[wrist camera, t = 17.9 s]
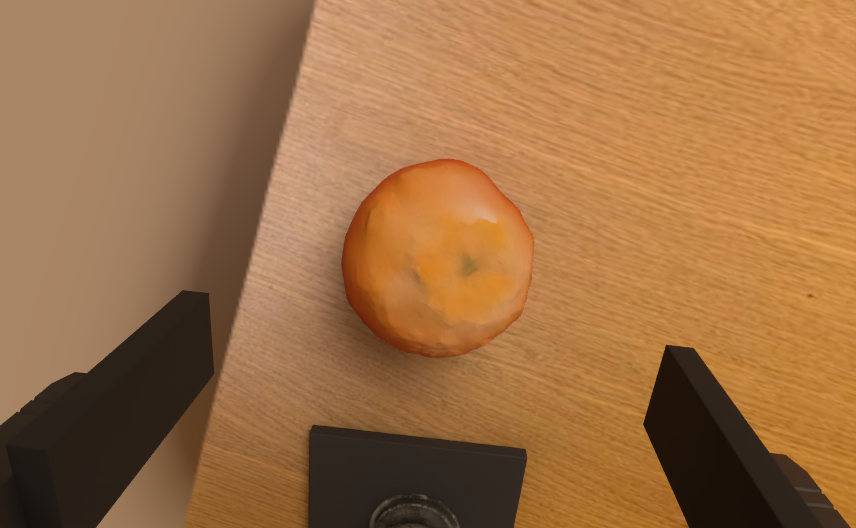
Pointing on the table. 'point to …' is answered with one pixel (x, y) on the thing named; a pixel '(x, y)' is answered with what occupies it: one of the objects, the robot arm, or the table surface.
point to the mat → (410, 477)
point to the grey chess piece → (413, 513)
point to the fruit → (437, 259)
